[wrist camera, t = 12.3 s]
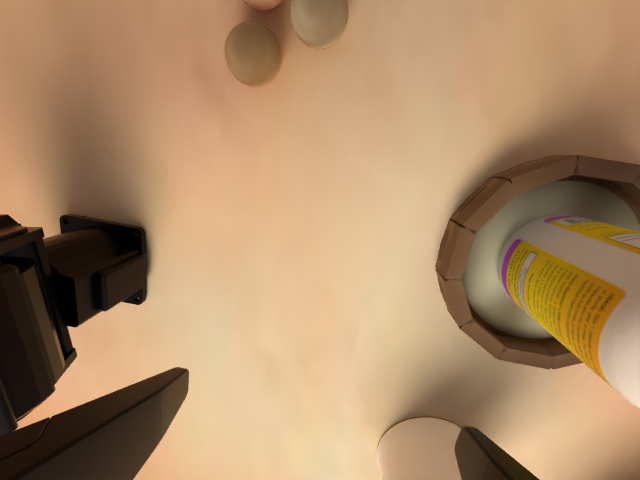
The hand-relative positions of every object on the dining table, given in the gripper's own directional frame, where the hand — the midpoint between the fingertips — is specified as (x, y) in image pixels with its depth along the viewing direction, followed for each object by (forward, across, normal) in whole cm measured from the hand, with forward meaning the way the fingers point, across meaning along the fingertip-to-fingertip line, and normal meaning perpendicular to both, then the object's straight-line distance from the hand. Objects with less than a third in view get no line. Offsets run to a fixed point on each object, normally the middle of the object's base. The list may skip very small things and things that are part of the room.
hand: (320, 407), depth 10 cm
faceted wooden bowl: (+13, +14, +3) cm, 19 cm away
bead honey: (+11, -7, +12) cm, 18 cm away
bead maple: (+11, -4, +15) cm, 19 cm away
